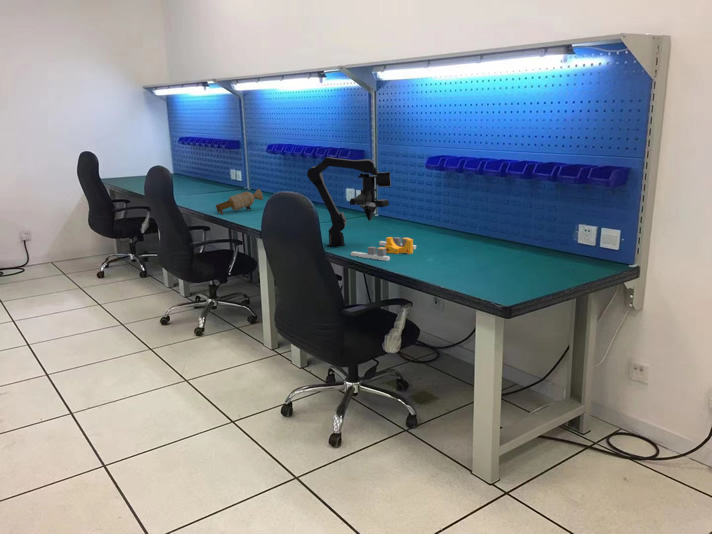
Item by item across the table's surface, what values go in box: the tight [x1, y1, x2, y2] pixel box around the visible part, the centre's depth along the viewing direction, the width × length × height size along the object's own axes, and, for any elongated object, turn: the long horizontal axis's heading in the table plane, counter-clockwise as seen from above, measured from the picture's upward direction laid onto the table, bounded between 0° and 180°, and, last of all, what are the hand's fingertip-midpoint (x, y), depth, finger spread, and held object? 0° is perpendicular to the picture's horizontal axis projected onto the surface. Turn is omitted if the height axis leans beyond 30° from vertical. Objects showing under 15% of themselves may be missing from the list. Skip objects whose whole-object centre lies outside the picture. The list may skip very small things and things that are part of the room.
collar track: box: [350, 236, 417, 262], centre depth 263 cm, size 19×25×5 cm
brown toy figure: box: [215, 188, 264, 215], centre depth 380 cm, size 10×12×30 cm
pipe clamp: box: [384, 236, 414, 255], centre depth 261 cm, size 12×4×6 cm, turn 60°
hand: (369, 220), depth 274 cm, fingers closed
